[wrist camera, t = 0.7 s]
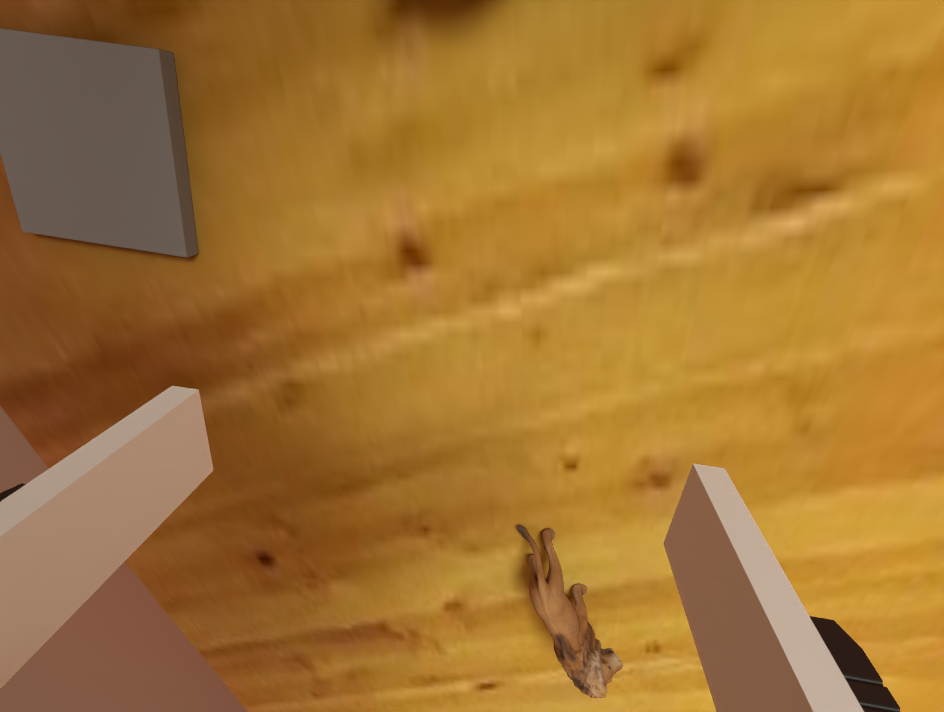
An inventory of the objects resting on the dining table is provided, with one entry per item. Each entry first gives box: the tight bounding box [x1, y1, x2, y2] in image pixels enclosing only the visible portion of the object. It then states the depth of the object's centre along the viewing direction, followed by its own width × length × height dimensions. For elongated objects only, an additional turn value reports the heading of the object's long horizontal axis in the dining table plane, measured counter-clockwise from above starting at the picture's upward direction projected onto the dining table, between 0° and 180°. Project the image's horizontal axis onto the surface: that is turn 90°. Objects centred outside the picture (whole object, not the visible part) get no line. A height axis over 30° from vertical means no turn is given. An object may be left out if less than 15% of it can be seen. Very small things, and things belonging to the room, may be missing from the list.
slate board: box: [0, 29, 198, 257], centre depth 35 cm, size 14×14×1 cm
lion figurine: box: [517, 526, 623, 698], centre depth 43 cm, size 15×5×9 cm, turn 36°
